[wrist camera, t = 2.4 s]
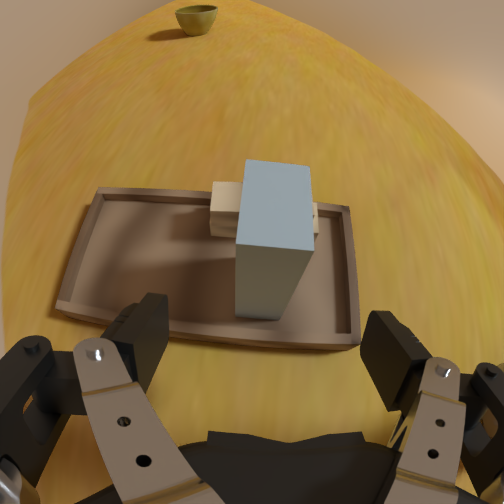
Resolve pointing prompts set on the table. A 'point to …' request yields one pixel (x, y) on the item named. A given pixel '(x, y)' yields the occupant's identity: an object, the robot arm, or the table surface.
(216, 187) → the offcut stack
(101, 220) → the brown serving tray
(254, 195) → the blue-grey rectangular block
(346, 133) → the table surface
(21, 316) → the table surface
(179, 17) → the green bowl
